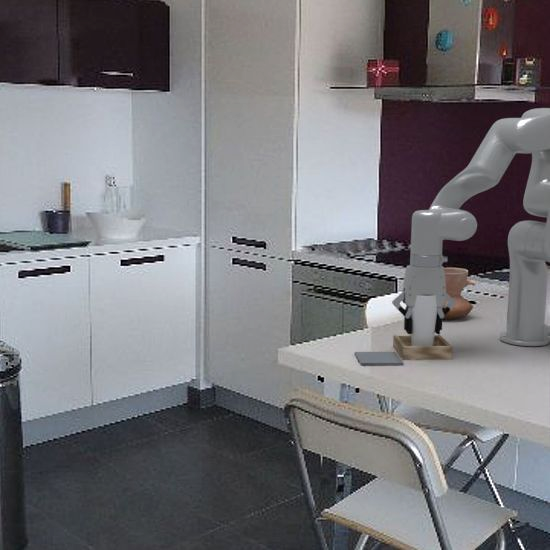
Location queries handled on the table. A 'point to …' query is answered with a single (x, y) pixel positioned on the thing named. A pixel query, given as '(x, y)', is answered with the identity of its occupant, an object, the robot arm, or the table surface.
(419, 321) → the drinking glass
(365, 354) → the slate coaster
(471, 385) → the table surface
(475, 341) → the table surface
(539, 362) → the table surface
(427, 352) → the oak collar
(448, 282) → the ceramic jug
